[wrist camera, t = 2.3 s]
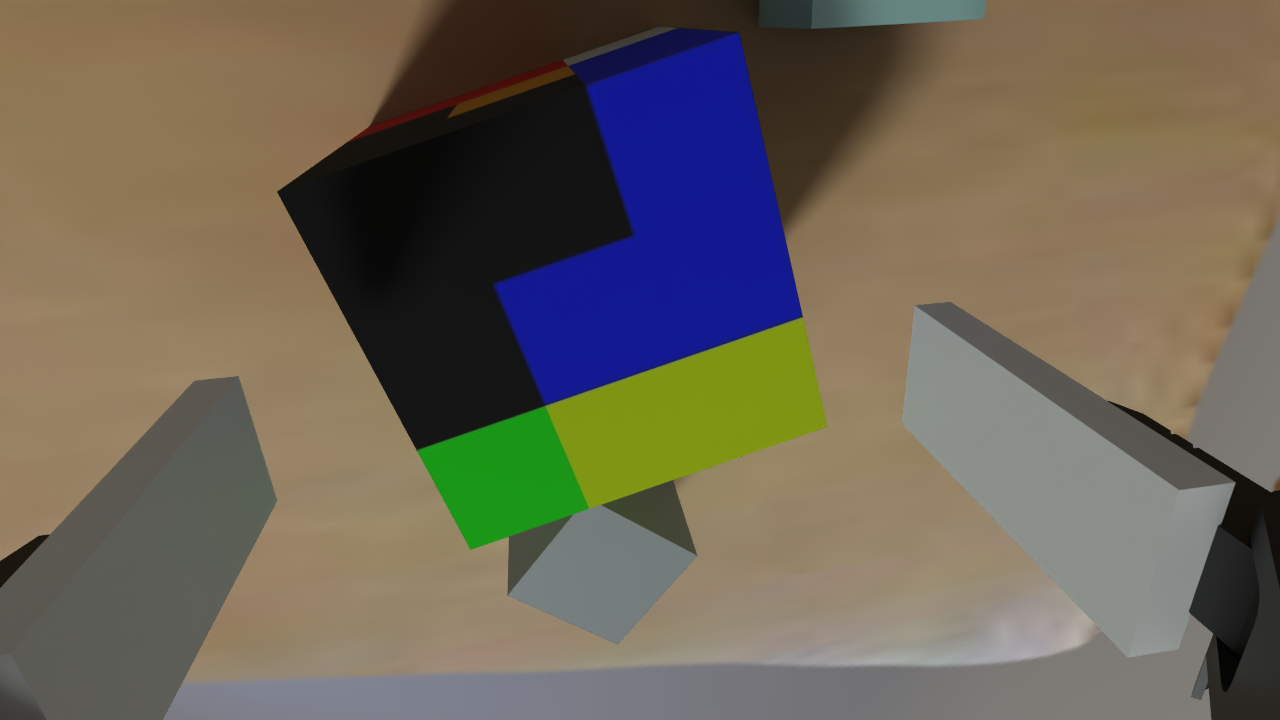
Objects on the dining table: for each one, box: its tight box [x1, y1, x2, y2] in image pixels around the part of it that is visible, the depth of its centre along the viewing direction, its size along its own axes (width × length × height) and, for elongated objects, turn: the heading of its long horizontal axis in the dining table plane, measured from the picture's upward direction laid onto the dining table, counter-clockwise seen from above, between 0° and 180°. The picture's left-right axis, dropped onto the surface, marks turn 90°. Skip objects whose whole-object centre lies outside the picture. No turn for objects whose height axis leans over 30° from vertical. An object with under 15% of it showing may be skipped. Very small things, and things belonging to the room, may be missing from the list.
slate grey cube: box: [508, 480, 697, 644], centre depth 29 cm, size 5×5×5 cm
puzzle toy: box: [277, 27, 827, 550], centre depth 22 cm, size 10×10×10 cm
